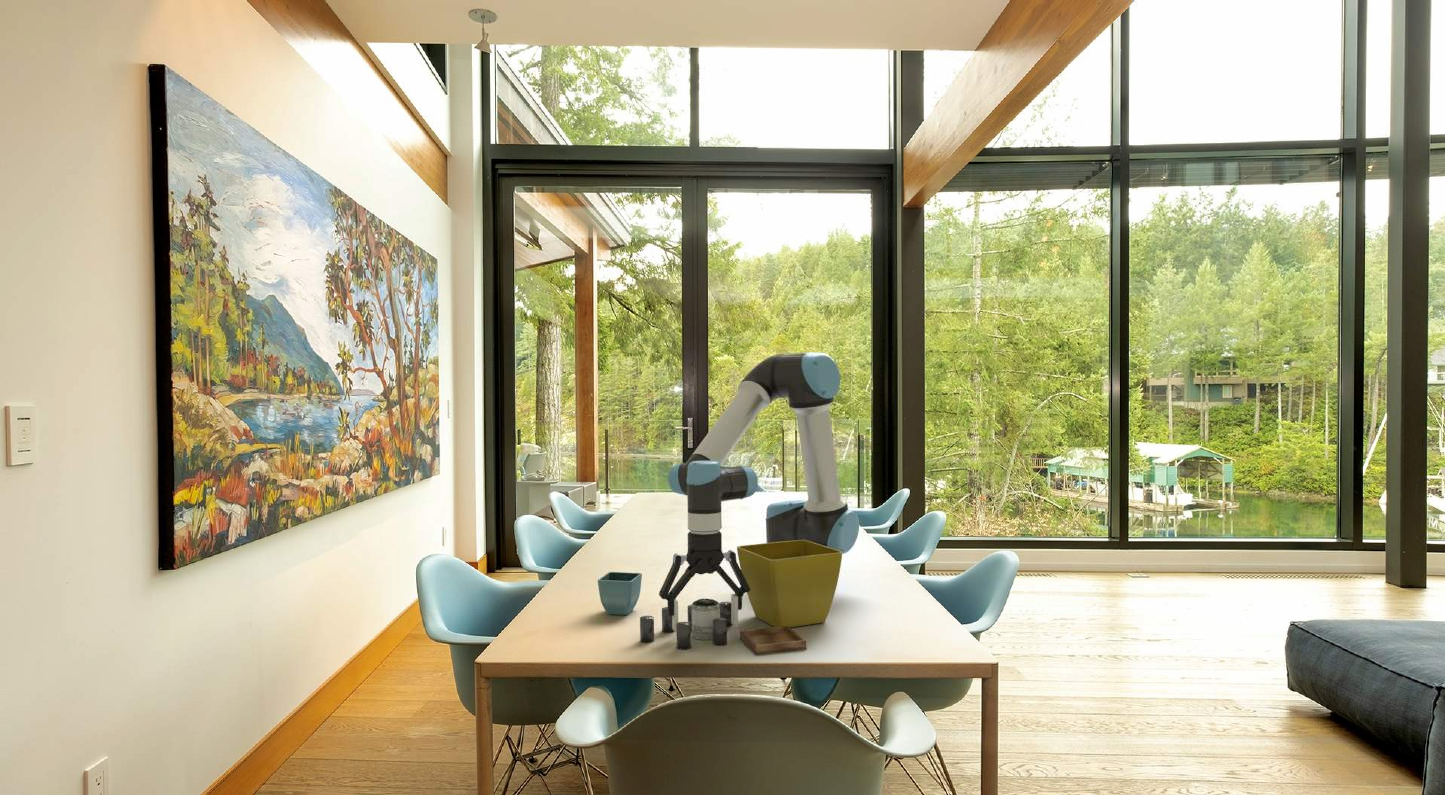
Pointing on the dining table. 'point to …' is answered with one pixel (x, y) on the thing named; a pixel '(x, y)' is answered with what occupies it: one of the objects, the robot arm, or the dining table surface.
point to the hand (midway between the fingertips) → (705, 627)
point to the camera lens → (704, 618)
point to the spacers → (687, 627)
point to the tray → (772, 640)
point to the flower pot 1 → (619, 591)
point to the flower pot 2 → (790, 580)
